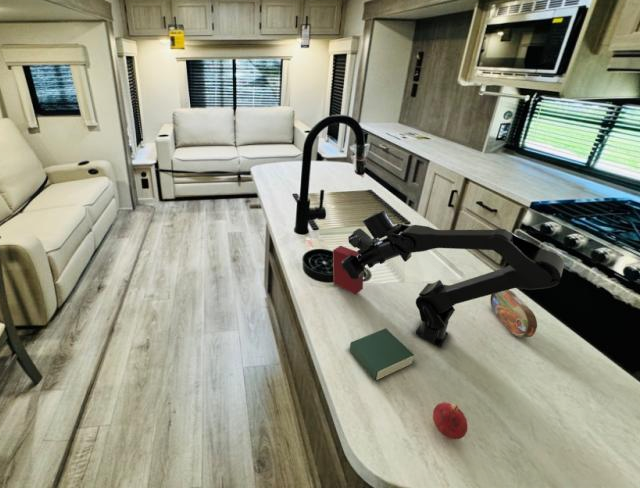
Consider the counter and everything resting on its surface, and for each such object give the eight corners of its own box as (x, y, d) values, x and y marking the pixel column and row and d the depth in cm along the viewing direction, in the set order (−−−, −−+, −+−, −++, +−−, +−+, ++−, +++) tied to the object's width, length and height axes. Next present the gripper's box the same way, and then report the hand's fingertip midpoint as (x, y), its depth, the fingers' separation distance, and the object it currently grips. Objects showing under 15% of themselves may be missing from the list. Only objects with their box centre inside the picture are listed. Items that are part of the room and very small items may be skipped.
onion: (463, 454, 60) (473, 428, 57) (428, 437, 63) (437, 411, 60) (461, 426, 64) (471, 400, 61) (429, 412, 67) (437, 386, 64)
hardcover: (384, 336, 86) (385, 328, 85) (412, 363, 78) (414, 355, 77) (349, 350, 82) (350, 342, 81) (375, 381, 74) (377, 372, 73)
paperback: (362, 288, 102) (363, 253, 98) (355, 294, 99) (356, 258, 96) (340, 278, 108) (339, 245, 105) (333, 283, 106) (332, 249, 102)
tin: (486, 303, 97) (494, 281, 93) (498, 304, 96) (506, 282, 93) (519, 343, 83) (529, 319, 80) (532, 345, 82) (543, 320, 79)
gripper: (382, 216, 98) (346, 234, 110) (351, 237, 87) (315, 254, 98) (403, 247, 95) (365, 262, 107) (374, 273, 84) (335, 286, 96)
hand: (345, 265), depth 102 cm, fingers closed on paperback, 4 cm apart
